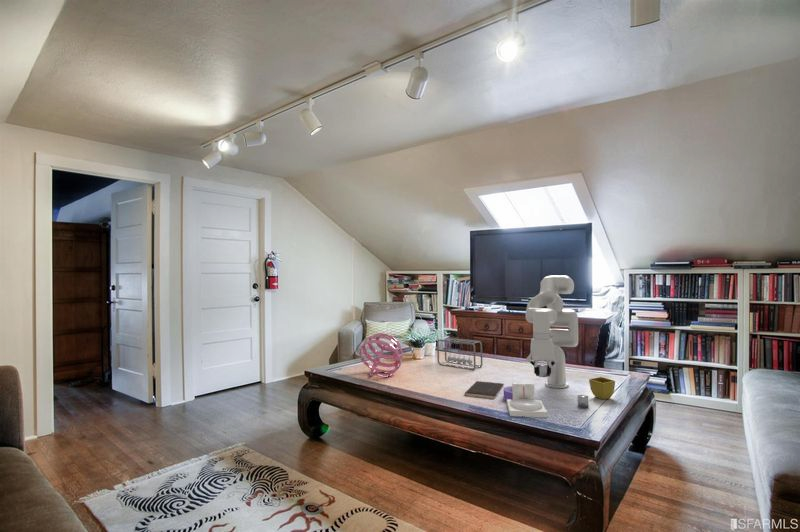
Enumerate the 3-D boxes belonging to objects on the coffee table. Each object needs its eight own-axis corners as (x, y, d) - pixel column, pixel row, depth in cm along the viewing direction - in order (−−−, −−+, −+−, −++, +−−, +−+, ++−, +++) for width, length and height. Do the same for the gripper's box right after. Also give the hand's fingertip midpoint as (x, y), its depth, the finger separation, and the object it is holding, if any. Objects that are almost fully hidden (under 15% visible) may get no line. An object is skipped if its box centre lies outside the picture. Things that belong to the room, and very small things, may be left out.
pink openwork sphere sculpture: (381, 351, 235) (394, 320, 256) (344, 359, 248) (359, 329, 270) (403, 384, 246) (414, 351, 267) (367, 389, 259) (380, 358, 281)
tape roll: (507, 403, 199) (507, 393, 199) (500, 396, 211) (500, 386, 211) (531, 402, 200) (531, 392, 200) (522, 395, 212) (522, 385, 212)
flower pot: (603, 401, 198) (603, 383, 198) (588, 396, 206) (588, 378, 206) (616, 398, 202) (615, 380, 202) (601, 394, 210) (600, 376, 210)
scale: (506, 402, 200) (506, 382, 200) (540, 403, 197) (539, 383, 197) (510, 416, 182) (509, 393, 182) (547, 417, 179) (546, 394, 179)
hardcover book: (504, 387, 227) (504, 383, 227) (495, 400, 206) (494, 395, 206) (476, 384, 234) (475, 380, 234) (464, 396, 213) (464, 392, 213)
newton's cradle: (482, 367, 273) (482, 341, 273) (475, 370, 265) (474, 343, 265) (445, 361, 292) (445, 337, 292) (437, 364, 284) (436, 339, 284)
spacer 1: (536, 374, 192) (536, 364, 192) (546, 374, 191) (546, 364, 191) (538, 377, 187) (538, 366, 187) (549, 377, 187) (548, 366, 187)
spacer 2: (576, 405, 194) (576, 394, 194) (586, 405, 193) (586, 394, 193) (579, 408, 190) (578, 397, 190) (589, 408, 189) (589, 397, 189)
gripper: (558, 335, 192) (559, 373, 192) (521, 335, 195) (522, 373, 194) (562, 337, 185) (563, 377, 184) (524, 337, 187) (525, 377, 187)
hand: (542, 375), depth 189 cm, fingers closed on spacer 1, 4 cm apart
